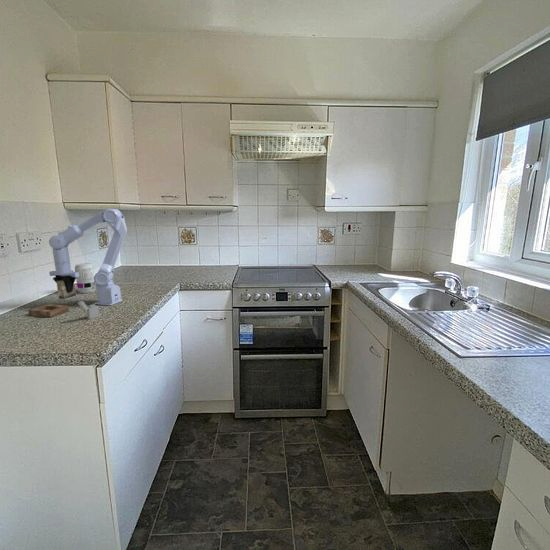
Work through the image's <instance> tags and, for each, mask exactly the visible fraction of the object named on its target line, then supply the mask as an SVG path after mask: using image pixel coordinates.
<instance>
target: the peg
mask: <svg viewBox="0 0 550 550" xmlns="http://www.w3.org/2000/svg"><path fill="white" fill-rule="evenodd" d="M56 282H57V283H56ZM56 282H55V283H56V289H57V294H58V295H57V296H58V299H59V300H60V299H61V300H66V299H68V298H72V297H75V296H77V294H76V293H77V292H76V287H75V284H74V285H73V291H72V292H69V293H68V292H67V290H66V286H65V283H64V281H63V280H59V281H56Z"/></svg>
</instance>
